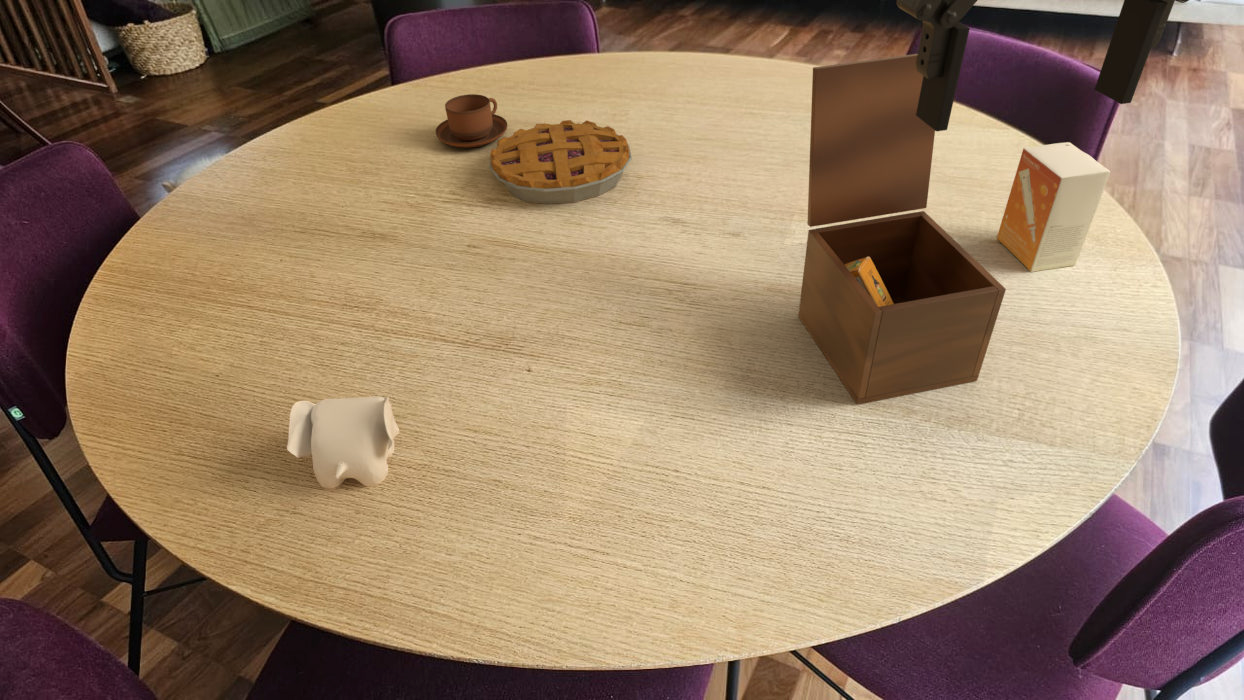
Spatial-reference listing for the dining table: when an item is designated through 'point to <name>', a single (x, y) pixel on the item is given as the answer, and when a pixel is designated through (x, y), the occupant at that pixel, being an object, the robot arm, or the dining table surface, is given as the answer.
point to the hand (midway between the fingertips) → (1023, 109)
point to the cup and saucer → (471, 122)
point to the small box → (1052, 205)
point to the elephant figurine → (344, 438)
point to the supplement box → (870, 280)
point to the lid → (867, 141)
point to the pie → (560, 162)
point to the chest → (898, 306)
